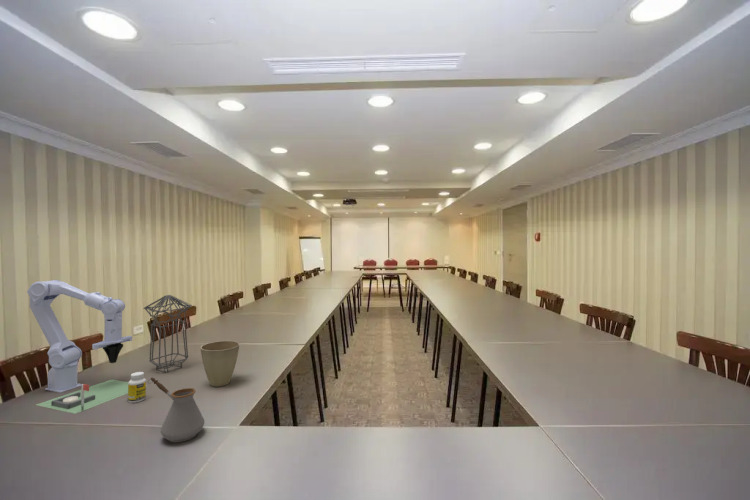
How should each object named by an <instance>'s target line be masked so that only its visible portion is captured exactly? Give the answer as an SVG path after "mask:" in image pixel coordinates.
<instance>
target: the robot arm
mask: <svg viewBox="0 0 750 500" xmlns="http://www.w3.org/2000/svg"><path fill="white" fill-rule="evenodd" d="M26 292H27V294H28V296H29V308H30V311H31V312H32V314H33V316H34V318H35V321H36V322H37V324H38V326H39V327H40V330H41V332H42V333H43V335H44V337H45V339H46V341H47V343H48V345H49V349H48V351H47V356H48V364H49V365H50V366H51V368H50V369H49V370H48V372H47V387H46V388H45V389H44V390H45V391H51V392H55V393H63V392H66V391H70V390H73V389H75V388H80V387H81V384H82V383H79V382H78V372H79V371H78V365H79V364H78V363H79V360H80V359H81V357H82V355H83V352H82V351H83V350H81V348H80V347H79V346H77V345H76V344H75V342H74V341H72V340H69V339H68V337H67V335H66V333H65V332H64V329H63V327H62V326H61V324H60V322H59V320H58V318H57V316H56V314H55V311H54V310H53V308H52V306H51V305H52V303H53V301H54V300H55V299H57V298H58V297H59V296H60V295H65V296H67V297H71V298H74V299H77V300H80V301H83V303H84V305H85V306H86V307H90V308H93V309H95V310H97V311H101V313H102V314H103V319H104V329H103V331H104V333H103V334H104V335H103V336H104V339H103V340H102V341H99V342H96V343H92V344H91V346H92V347H91V348H92V350H98V349H103V351H104V352H105V354H106V356H107V358H108V362H109V363H110V364H115V363H117V360H118V357H119V354H120V352H121V350H122V349H123V348H124V343H127V342H132V341H133V336H131V335H127V336H123V331H122V330H123V311H125V307H126V304H125V302H124V301H123V300H122V299H120V298H115V299H113V297H111V296H109V297H108V296H106V295H103V294H102V292H100V291H96V292H90V293H89V292H87V291H85V290H83V289H80V288H78V287H76V286H73V285H72V284H69V283H67V282H66V281H62V280H59V279H52V280H45V281H44V280H43V281H42V280H41V281H38V280H37V281H35V282H33V283H32V284H31V285H29V288H28V289H27V291H26Z"/></svg>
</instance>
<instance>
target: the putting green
mask: <svg viewBox="0 0 750 500" xmlns="http://www.w3.org/2000/svg"><path fill="white" fill-rule="evenodd" d="M128 383H129V381H124V380H123V381H122V380H116V379H109V380H106V381H103V382H100V383H96V384H94V385H91V386H89V391H85V390H84V398H86V397H89V396H92V395H95V400H92V401H89V402H87V403H84V410H83V411H86V410H88V409H91V408H94V407H97V406H99V405H102V404H104V403H107V402H109V401H112V400H115V399H117V398H120V397H122V396H125V395H128ZM146 387H148V385H147V384H146ZM77 392H80V397H78V400H80V399H81V389H79V390H75V391H73V392H69V393H67V394H64V395H61V396H58V397H55V398H52V399H49V400H46V401H44V402H43V401H42V402H40V403H37V404H35V406H38V407H42V408H48V409H51V410H57V411H61V412H64V413H70V414H74V415H76V414H79V413H81V412H83V411H81V405H78V406H76V407H73V408H70V409H65V408H61V407H56V406H51V401H54V400H57V399H60V398H63V397H66V396H69V395H72V394H75V393H77Z"/></svg>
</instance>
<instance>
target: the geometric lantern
mask: <svg viewBox="0 0 750 500" xmlns="http://www.w3.org/2000/svg"><path fill="white" fill-rule="evenodd" d="M154 304H155V305H154ZM152 305H154V306H152ZM173 305H174V307H175V308H174V309H172V306H173ZM192 306H193V305H192V304H191V303H188V302H187V301H184V300H182V299H180V298H177V297H176V296H174V295H171V294H167V295H163V296H162V297H160V298H158V299H157V300H155V301H153V302H151V303H149V304H148V305H146V306H145V307H143V309H144V310H145V311H146V312H147V314H148V315H149V317H152V318H153V319H152V323H151V324H150V341H149V342H150V343H149V344H150V345H149V347H150V348H149V362H150V363H151V364H153V365H154V366H155V370H156V371H158V372H162V373H169V372H172V371H173V372H174V371H175V370H179V369H182V368H183V363H184V362H185V361H187V360H188V358H189V353H188V352H189V351H188V337H187V326H186V325H187V324H186V320H182V317H181V316H180V315H181V314H182V313H184V317H183V318H186V312H187V310H189V309H190V308H191V307H192ZM156 309H158V310H156ZM161 309H162V310H161ZM174 311H176V312H177V313H176V314H173V312H174ZM179 311H180V312H179ZM154 312H155V313H154ZM169 312H170V313H169ZM159 313H164V314H166V315H168V316H169V319H168V320H164V321H163V320H162V321H158V319H157V318H158V316H159ZM173 317H176V318H175V319H174V318H173ZM178 318H179V319H178ZM170 321H171V324H168V323H169V322H170ZM164 322H166V323H165V324H164V325H163V326H161V323H164ZM174 322H175V323H174ZM178 322H179V323H178ZM156 324H157V325H156ZM167 324H168V325H167ZM178 325H181V329H182V338H183V348H184V354H181V353H180V352H179V335H178V334H179V333H178ZM174 326H175V331H176V332H175V335H176V349H177V353H176V352H175V353H173V352H174V348H173V347H174ZM156 327H158V328H159V339H158V342H159V343H158V356H157V357H155V358H154V350H155V349H154V347H155V333H156V331H155V330H156ZM167 327H171V350H170V351H171V353H169V354H167V349H166V348H167V346H166V344H167V343H166V328H167ZM162 328H163V343H164V345H163V347H164V355H162V356H161V341H162V338H161V337H162ZM174 355H175V357H174V358H173V356H174ZM168 356H170V360H167V357H168ZM178 356H182V357H184V359H180V360H176V358H177V357H178ZM162 358H164V361H165V362H162V363H161V359H162ZM155 360H158V363H157V362H155ZM176 363H178V364H176ZM172 367H173V368H174V367H177V368H174V369H170V370H169V368H172ZM161 369H164V370H161Z"/></svg>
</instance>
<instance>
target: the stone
mask: <svg viewBox="0 0 750 500" xmlns="http://www.w3.org/2000/svg"><path fill="white" fill-rule="evenodd" d="M75 401H78V396H71V397H67V398H65V399H63V402H66V403H72V402H75Z"/></svg>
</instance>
